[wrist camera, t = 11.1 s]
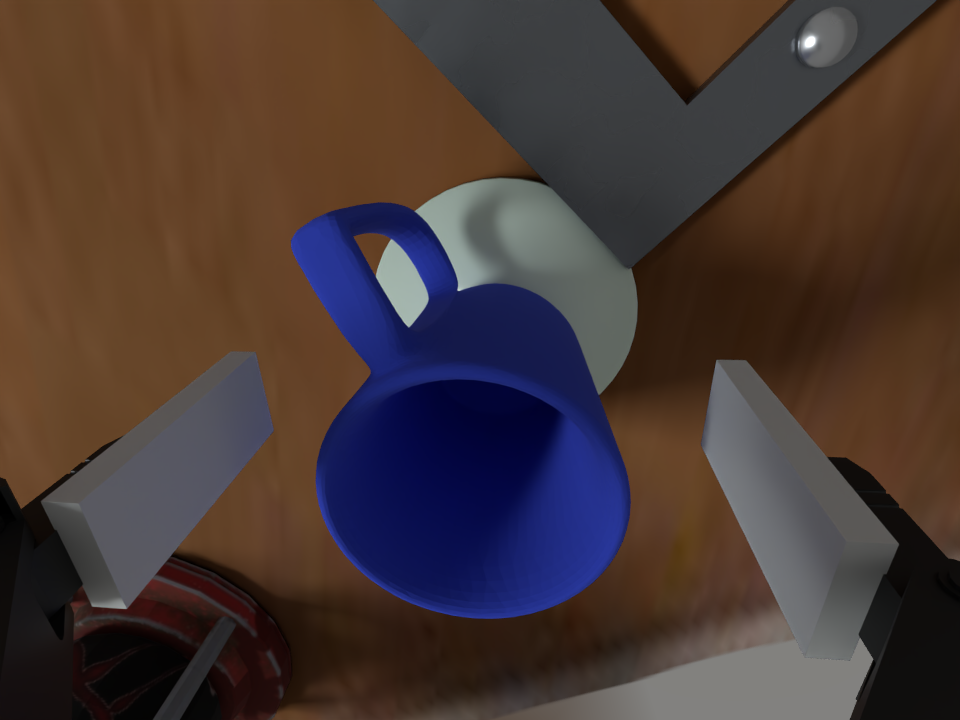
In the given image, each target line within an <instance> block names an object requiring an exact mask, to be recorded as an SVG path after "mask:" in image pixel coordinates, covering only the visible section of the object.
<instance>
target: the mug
mask: <svg viewBox="0 0 960 720" xmlns="http://www.w3.org/2000/svg"><path fill="white" fill-rule="evenodd" d="M364 233H378V234H383V235H385V236H387V237H389V238H391V239H392V240H394V241H395V242H396V243H397V244H398V245H399V246H400V247H401V248H402V249H403V250H404V252H405V253H406V254H407V255H408V257H409V258H410V260H411V261H412V263H413V264H414V266H415V268H416V269H417V271H418V273H419V275H420V277H421V279H422V281H423V283H424V285H425V287H426V290H427V293H428V298H429V300H428V303H427V305H426V307H425V308H424V310H423V311H422V312H421V314H420V315H419V316H418V317H417V319H416V320H415V321H414V323H413V324H412V325H411V326H410V327H408V326H407V325H406V324H405V323H404V322H403V320H402V319H401V317H400V316H399V314H398V313H397V312H396V310H395V308H394V307H393V305H392V303H391V302H390V300H389V298H388V297H387V295H386V293H385V292H384V290H383V288H382V287H381V285H380V283H379V282H378V280H377V278H376V277H375V275H374V273H373V271H372V270H371V268H370V266H369V264H368V262H367V261H366V259H365V257H364V255H363V253H362V252H361V250H360V248H359V246H358V244H357V243H356V241H355V239H354V237H353V236H356V235H360V234H364ZM291 248H292V251H293V254H294V256H295V258H296V259H297V261H298V263H299V265H300V267H301V268H302V270H303V272H304V274H305V275H306V277H307V279H308V281H309V282H310V284H311V286H312V287H313V289H314V291H315V292H316V294H317V296H318V297H319V299H320V300H321V302H322V303H323V305H324V307H325V308H326V310H327V311H328V313H329V314H330V316H331V317H332V319H333V320H334V322H335V323H336V325H337V326H338V328H339V329H340V331H341V332H342V334H343V335H344V337H345V338H346V339H347V340H348V342H349V343H350V344H351V345H352V347H353V348H354V349H355V350H356V352H357V353H358V354H359V355H360V357H361V358H362V359H363V360H364V361H365V362H366V364H367V365H368V366H369V368H370V370H371V374H370V376H369V377H368V379H367V380H366V381H365V383H364V384H363V385H362V386H361V387H360V389H359V390H358V391H357V392H356V393H355V395H354V396H353V397H352V398H351V399H350V400H349V402H348V403H347V404H346V405H345V406H344V407H343V409H342V410H341V411H340V412H339V414H338V415H337V416H336V418H335V419H334V421H333V422H332V424H331V426H330V428H329V429H328V431H327V433H326V435H325V438H324V440H323V442H322V445H321V449H320V452H319V456H318V461H317V469H316V489H317V497H318V502H319V506H320V509H321V513H322V516H323V519H324V521H325V523H326V525H327V528H328V530H329V532H330V533H331V535H332V537H333V538H334V540H335V542H336V543H337V545H338V546H339V548H340V549H341V550H342V552H343V553H344V554H345V556H346V557H347V558H348V559H349V560H350V561H351V562H352V563H353V564H354V565H355V566H356V567H357V568H358V569H359V570H360V571H361V572H362V573H363V574H364V575H366V576H367V577H368V578H369V579H370V580H372V581H373V582H375V583H376V584H378V585H379V586H380V587H382V588H383V589H385V590H387V591H388V592H390V593H392V594H393V595H395V596H397V597H399V598H401V599H403V600H405V601H407V602H409V603H412V604H415V605H417V606H420V607H423V608H426V609H429V610H432V611H436V612H440V613H444V614H448V615H452V616H460V617H468V618H483V619H495V618H510V617H516V616H522V615H527V614H532V613H535V612H539V611H542V610H545V609H548V608H550V607H553V606H555V605H558V604H560V603H562V602H564V601H566V600H568V599H570V598H571V597H573V596H575V595H576V594H578V593H580V592H581V591H583V590H584V589H585V588H586V587H588V586H589V585H590V584H592V583H593V582H594V581H595V580H596V579H597V578H598V577H599V576H600V575H601V574H602V573H603V572H604V571H605V569H606V568H607V567H608V566H609V565H610V563H611V562H612V560H613V558H614V557H615V555H616V554H617V552H618V550H619V548H620V546H621V544H622V542H623V539H624V536H625V533H626V530H627V526H628V521H629V516H630V504H631V500H630V487H629V481H628V476H627V472H626V468H625V465H624V462H623V460H622V457H621V454H620V451H619V449H618V446H617V443H616V441H615V438H614V435H613V433H612V430H611V427H610V425H609V422H608V419H607V416H606V414H605V411H604V408H603V406H602V403H601V400H600V398H599V395H598V392H597V390H596V387H595V384H594V381H593V379H592V376H591V373H590V371H589V368H588V365H587V363H586V360H585V357H584V354H583V352H582V349H581V346H580V344H579V341H578V339H577V337H576V334H575V332H574V330H573V329H572V327H571V325H570V324H569V322H568V321H567V319H566V318H565V317H564V316H563V314H562V313H561V312H560V311H559V310H558V309H557V308H556V307H555V306H554V305H552V304H551V303H550V302H549V301H547V300H546V299H544V298H543V297H541V296H540V295H538V294H536V293H534V292H532V291H530V290H527V289H524V288H522V287H518V286H514V285H509V284H499V283H493V284H483V285H478V286H473V287H469V288H466V289H463V290H460V291H458V280H457V276H456V273H455V271H454V268H453V266H452V263H451V261H450V259H449V257H448V255H447V253H446V251H445V249H444V247H443V246H442V244H441V242H440V240H439V239H438V237H437V236H436V234H435V233H434V231H433V230H432V229H431V227H430V226H429V225H428V223H427V222H426V221H425V220H424V219H423V218H422V217H421V216H420V215H418V214H417V213H416V212H415V211H413V210H411V209H410V208H408V207H405V206H402V205H398V204H393V203H371V204H363V205H357V206H352V207H348V208H343V209H338V210H334V211H331V212H328V213H326V214H324V215H322V216H319V217H317V218H315V219H313V220H312V221H310V222H309V223H307V224H306V225H304V226H303V227H301V228H300V229H299V230H297V232H296V233H295V235H294V236H293V238H292V240H291Z"/></svg>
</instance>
